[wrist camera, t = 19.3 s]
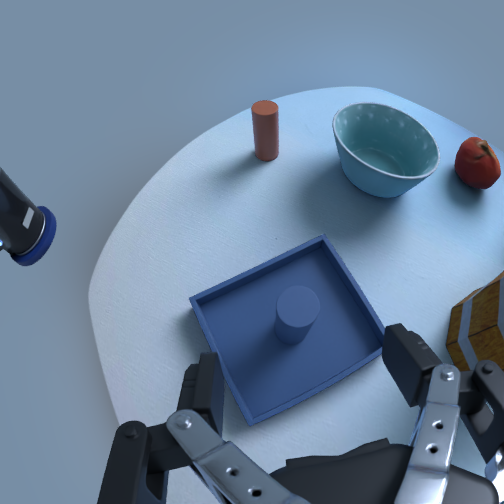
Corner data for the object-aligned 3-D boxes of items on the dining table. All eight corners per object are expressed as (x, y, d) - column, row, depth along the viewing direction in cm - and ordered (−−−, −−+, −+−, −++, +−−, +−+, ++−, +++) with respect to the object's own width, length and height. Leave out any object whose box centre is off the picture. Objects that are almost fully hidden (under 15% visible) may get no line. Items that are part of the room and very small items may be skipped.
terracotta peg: (261, 164, 44) (258, 118, 36) (251, 150, 45) (246, 104, 37) (282, 156, 44) (283, 110, 36) (271, 142, 46) (270, 97, 38)
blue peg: (284, 350, 31) (288, 335, 23) (269, 322, 32) (268, 297, 24) (313, 335, 31) (328, 314, 23) (298, 307, 33) (306, 278, 25)
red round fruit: (480, 164, 42) (497, 135, 35) (493, 202, 38) (515, 174, 31) (442, 153, 44) (458, 122, 36) (455, 192, 40) (476, 161, 32)
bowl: (346, 127, 47) (353, 89, 39) (427, 165, 42) (445, 130, 35) (308, 184, 41) (313, 142, 34) (407, 234, 37) (431, 198, 29)
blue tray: (251, 423, 28) (249, 426, 26) (194, 305, 35) (188, 297, 32) (385, 348, 31) (394, 344, 28) (321, 244, 37) (324, 233, 35)
